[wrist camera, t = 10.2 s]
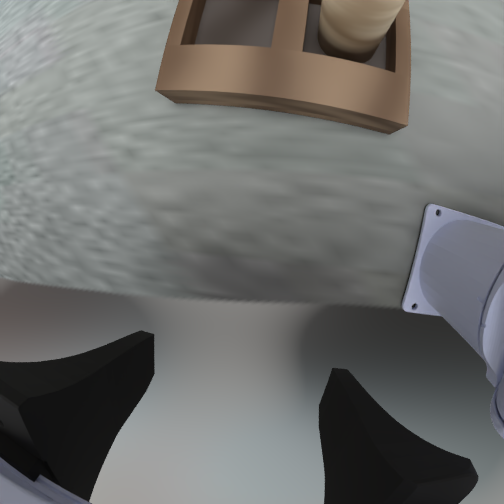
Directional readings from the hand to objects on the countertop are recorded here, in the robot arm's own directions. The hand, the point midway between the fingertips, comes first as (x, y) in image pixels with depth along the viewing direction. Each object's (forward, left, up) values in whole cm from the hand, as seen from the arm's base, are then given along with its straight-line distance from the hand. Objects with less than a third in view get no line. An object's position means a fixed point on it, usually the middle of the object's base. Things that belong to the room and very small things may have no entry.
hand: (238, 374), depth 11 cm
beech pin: (-3, -18, -9) cm, 20 cm away
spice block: (+1, -18, -10) cm, 21 cm away
